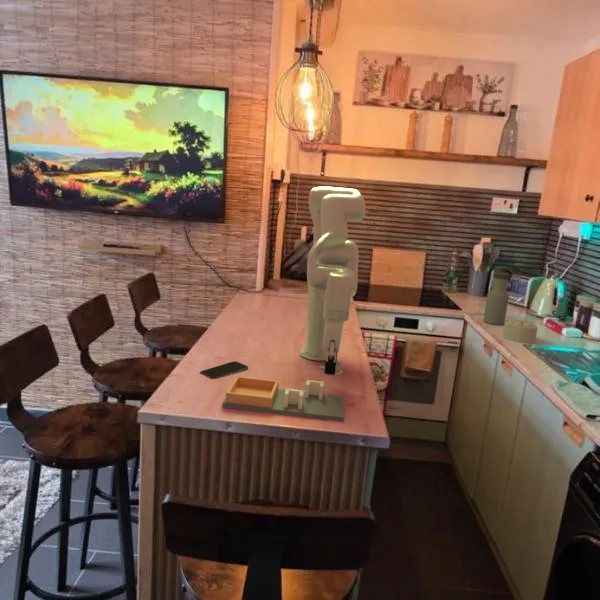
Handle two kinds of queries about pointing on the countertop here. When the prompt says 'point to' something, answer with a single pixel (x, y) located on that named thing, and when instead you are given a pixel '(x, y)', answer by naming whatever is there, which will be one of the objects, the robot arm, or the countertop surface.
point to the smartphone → (224, 370)
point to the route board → (302, 403)
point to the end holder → (252, 391)
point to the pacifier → (335, 369)
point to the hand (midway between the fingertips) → (330, 368)
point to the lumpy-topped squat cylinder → (520, 331)
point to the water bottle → (498, 296)
